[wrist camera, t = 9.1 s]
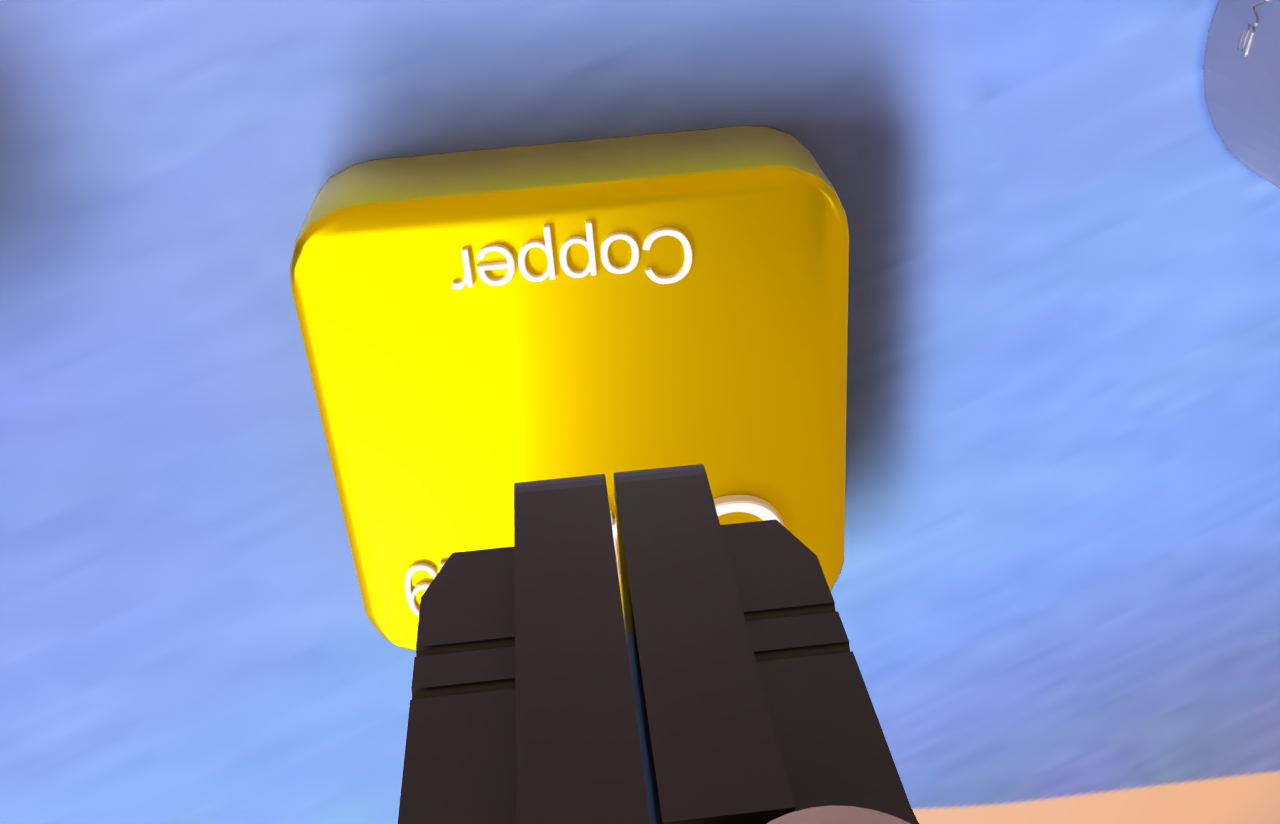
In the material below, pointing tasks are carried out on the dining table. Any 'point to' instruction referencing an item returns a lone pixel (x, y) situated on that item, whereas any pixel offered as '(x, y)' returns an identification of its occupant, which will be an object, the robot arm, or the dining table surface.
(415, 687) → the robot arm
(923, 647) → the dining table surface
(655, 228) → the element tile
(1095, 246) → the dining table surface
